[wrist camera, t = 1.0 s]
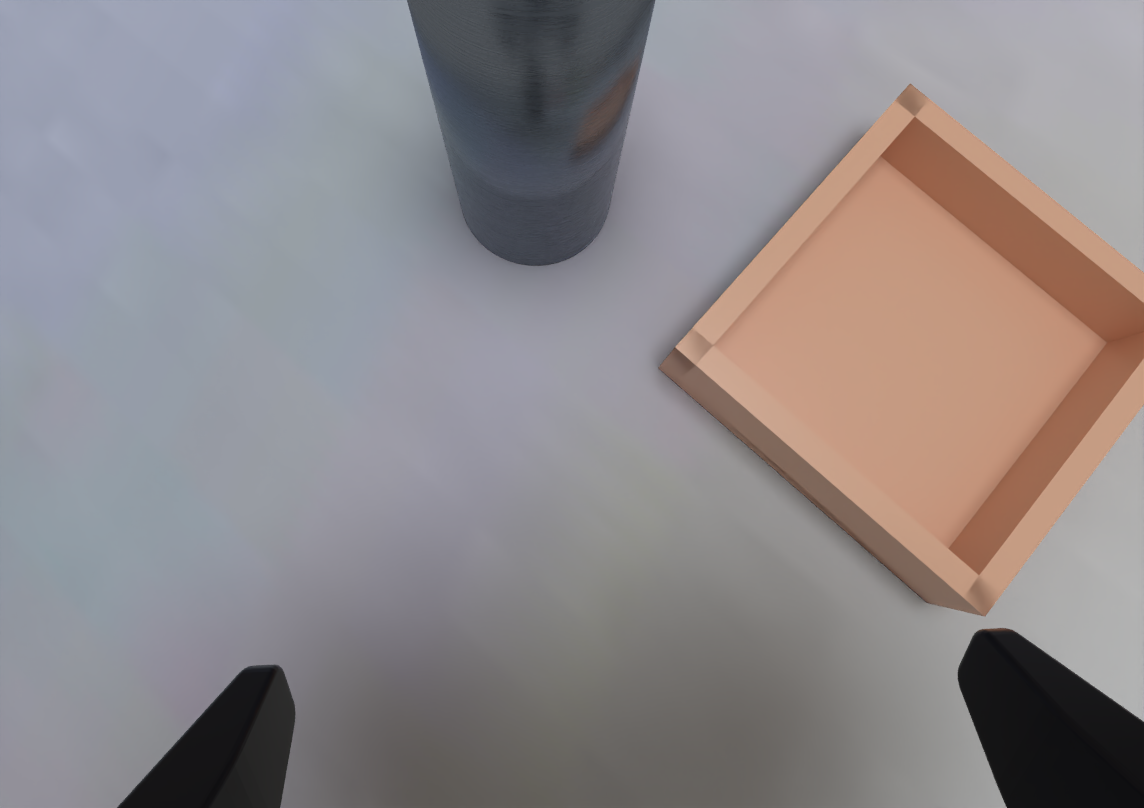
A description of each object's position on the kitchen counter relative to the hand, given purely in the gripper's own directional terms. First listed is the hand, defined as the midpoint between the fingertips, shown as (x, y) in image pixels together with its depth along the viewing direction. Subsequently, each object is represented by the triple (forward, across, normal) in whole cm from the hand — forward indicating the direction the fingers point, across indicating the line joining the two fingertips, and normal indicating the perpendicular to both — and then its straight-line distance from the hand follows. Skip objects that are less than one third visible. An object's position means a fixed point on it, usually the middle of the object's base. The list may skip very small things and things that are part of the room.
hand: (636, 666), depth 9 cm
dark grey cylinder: (+19, +1, -1) cm, 19 cm away
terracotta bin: (+15, -11, +4) cm, 19 cm away
